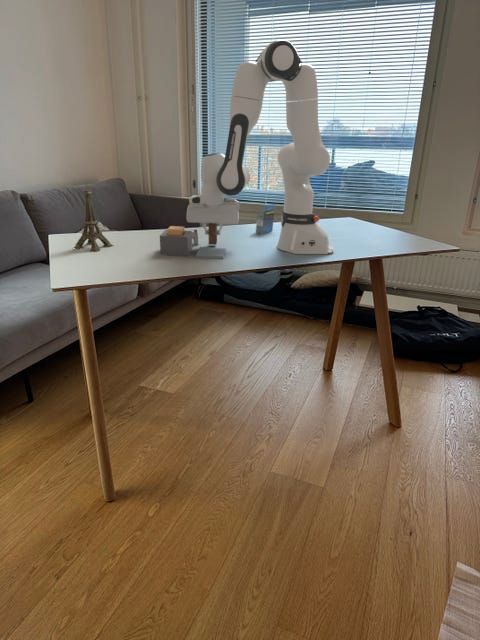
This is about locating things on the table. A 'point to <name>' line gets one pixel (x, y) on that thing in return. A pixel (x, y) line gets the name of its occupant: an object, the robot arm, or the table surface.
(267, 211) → the label tape box
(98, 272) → the table surface
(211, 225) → the brown rectangular block
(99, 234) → the eiffel tower
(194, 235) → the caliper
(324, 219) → the table surface
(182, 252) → the box
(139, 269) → the table surface
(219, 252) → the rest pad
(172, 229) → the button
